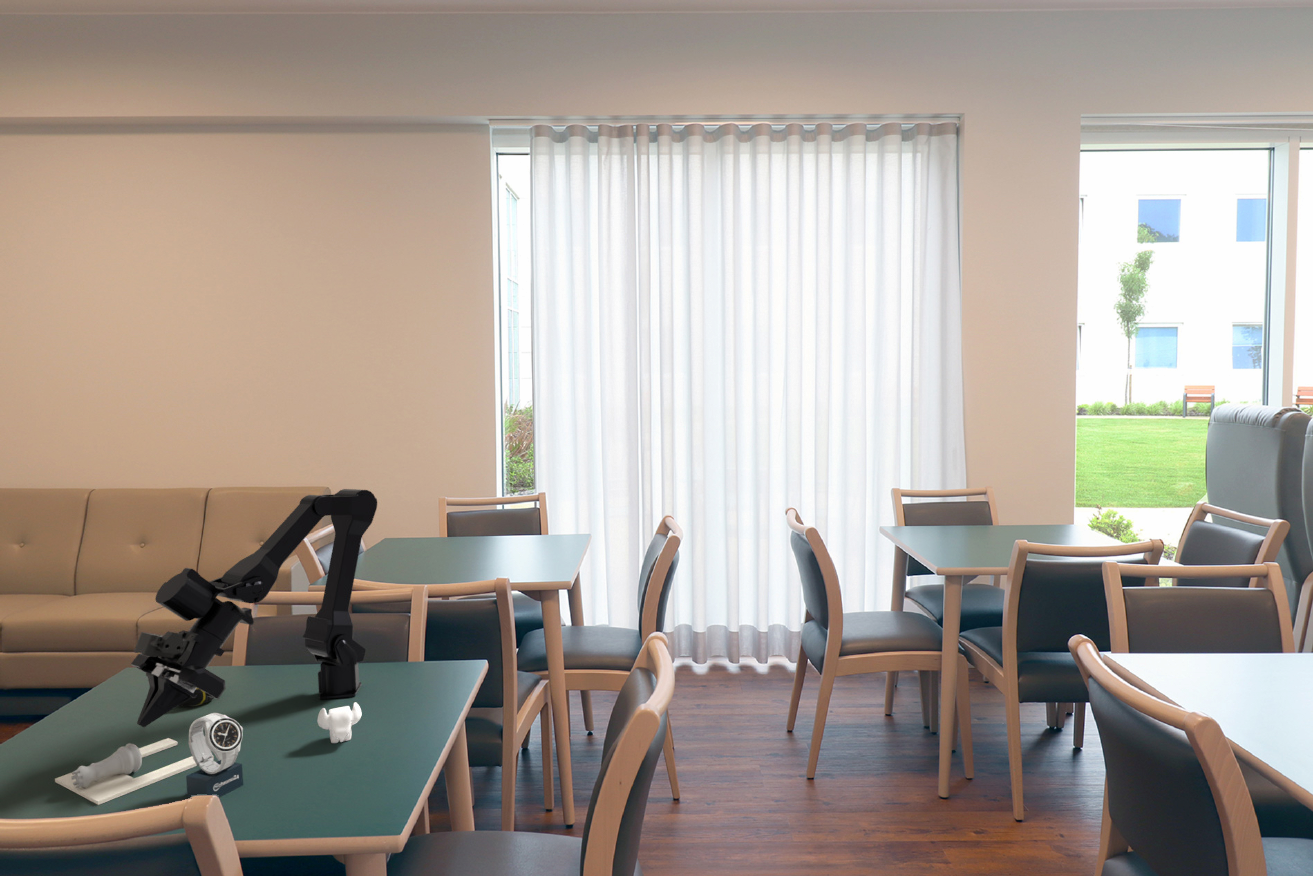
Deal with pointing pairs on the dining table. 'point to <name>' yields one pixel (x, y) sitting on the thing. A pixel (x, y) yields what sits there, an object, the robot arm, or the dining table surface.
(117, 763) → the rook chess piece
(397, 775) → the dining table surface
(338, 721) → the elephant figurine
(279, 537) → the robot arm
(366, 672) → the dining table surface
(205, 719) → the watch
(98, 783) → the cream u-shaped flat bracket
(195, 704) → the tape measure
